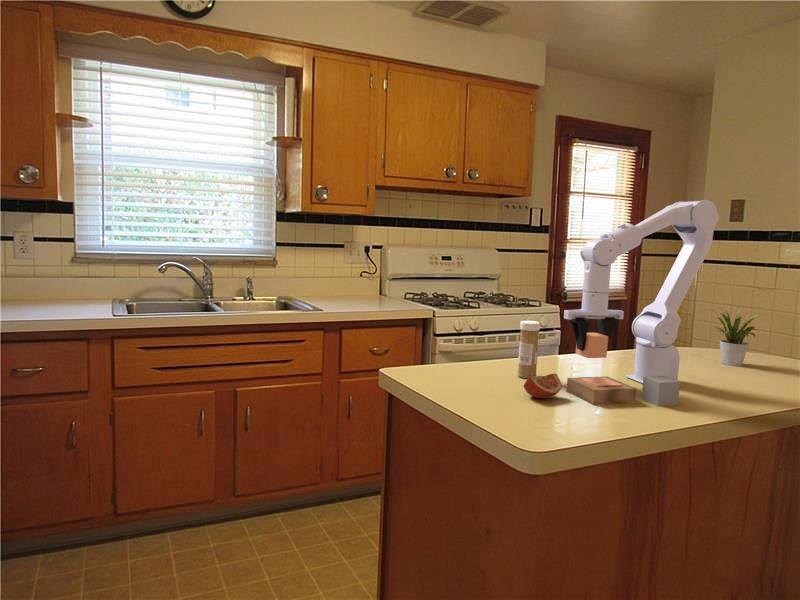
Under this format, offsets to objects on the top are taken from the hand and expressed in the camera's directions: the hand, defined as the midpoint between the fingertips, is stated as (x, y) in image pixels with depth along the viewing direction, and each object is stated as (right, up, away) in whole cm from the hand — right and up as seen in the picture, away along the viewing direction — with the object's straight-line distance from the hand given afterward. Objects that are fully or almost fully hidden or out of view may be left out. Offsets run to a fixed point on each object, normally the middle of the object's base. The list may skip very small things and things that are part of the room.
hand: (591, 349), depth 137 cm
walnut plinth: (-2, -10, -12) cm, 15 cm away
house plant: (+47, -7, +28) cm, 55 cm away
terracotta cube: (0, -1, 0) cm, 1 cm away
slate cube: (+10, -10, -14) cm, 20 cm away
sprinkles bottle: (-14, -7, +3) cm, 16 cm away
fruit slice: (-15, -9, -14) cm, 23 cm away
